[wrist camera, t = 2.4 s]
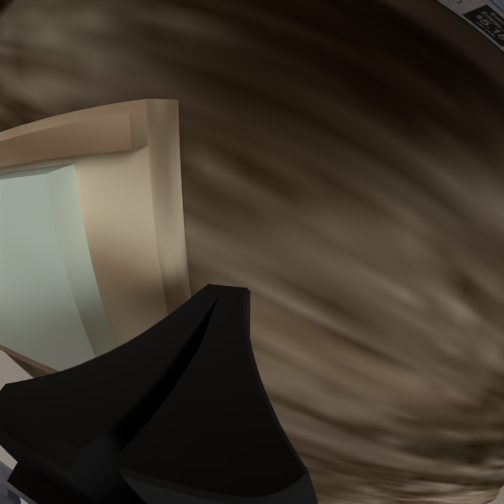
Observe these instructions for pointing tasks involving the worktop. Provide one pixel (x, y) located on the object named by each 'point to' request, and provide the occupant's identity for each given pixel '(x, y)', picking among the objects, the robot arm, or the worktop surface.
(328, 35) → the worktop surface
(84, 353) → the cover plate
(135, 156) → the wooden box
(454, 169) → the worktop surface
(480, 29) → the light bulb box
